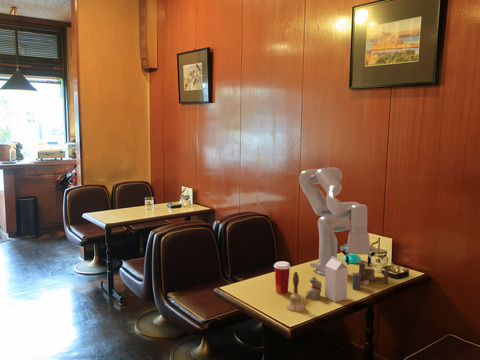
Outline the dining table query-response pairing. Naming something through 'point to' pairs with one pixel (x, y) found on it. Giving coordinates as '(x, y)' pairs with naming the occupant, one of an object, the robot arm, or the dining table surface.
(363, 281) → the bobbin
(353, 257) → the donuts
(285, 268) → the paper cup
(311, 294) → the chocolate bunny
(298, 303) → the hand bell
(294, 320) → the dining table surface
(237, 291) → the dining table surface
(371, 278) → the notch board
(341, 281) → the milk carton
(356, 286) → the dark upright block
